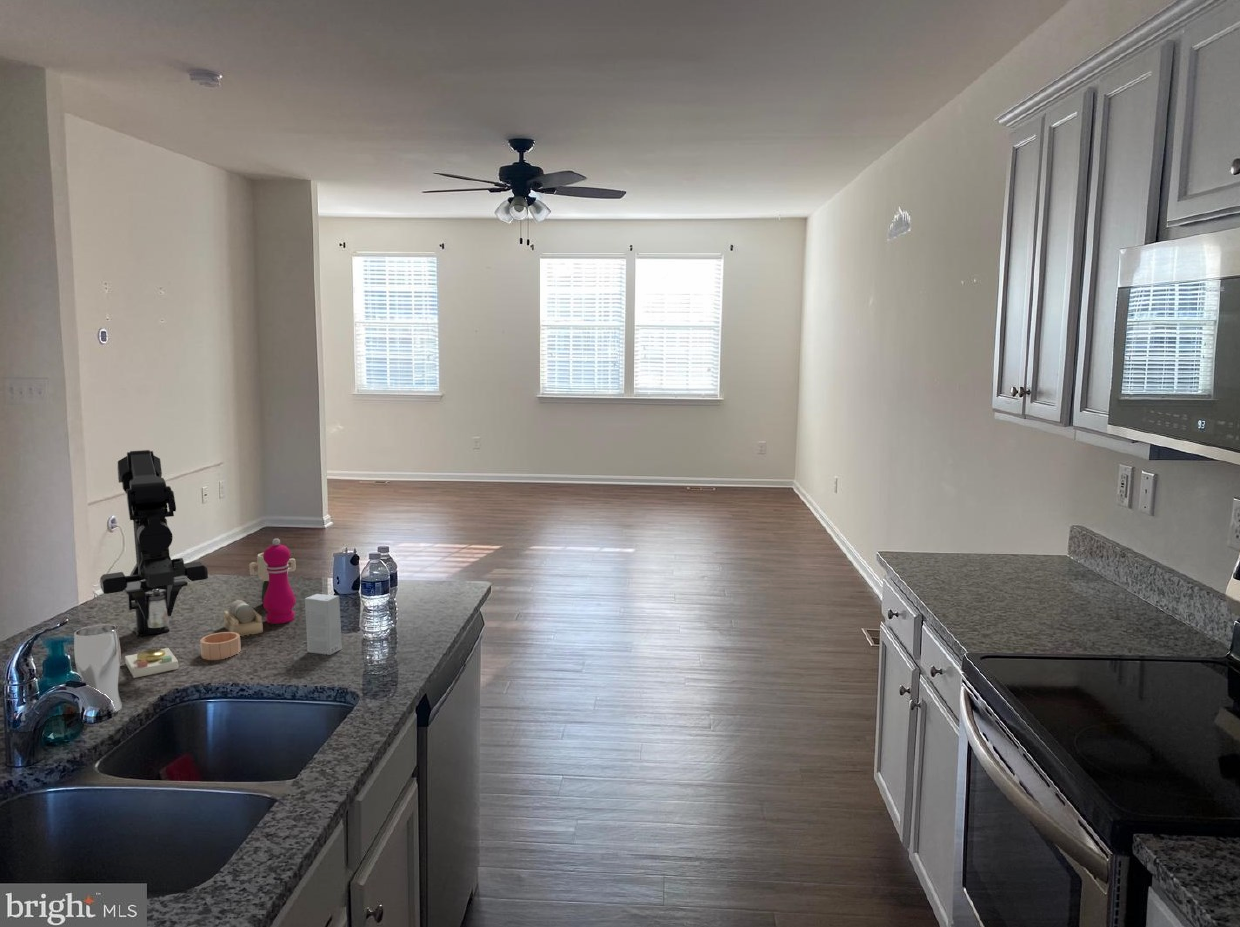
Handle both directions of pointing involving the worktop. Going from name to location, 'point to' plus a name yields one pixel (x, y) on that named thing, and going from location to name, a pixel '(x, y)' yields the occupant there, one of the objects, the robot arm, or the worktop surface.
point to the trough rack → (242, 619)
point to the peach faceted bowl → (220, 645)
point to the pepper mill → (278, 585)
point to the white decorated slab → (151, 664)
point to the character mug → (263, 573)
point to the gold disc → (151, 655)
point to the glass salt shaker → (157, 608)
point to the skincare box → (323, 624)
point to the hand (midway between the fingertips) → (158, 617)
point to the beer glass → (99, 659)
